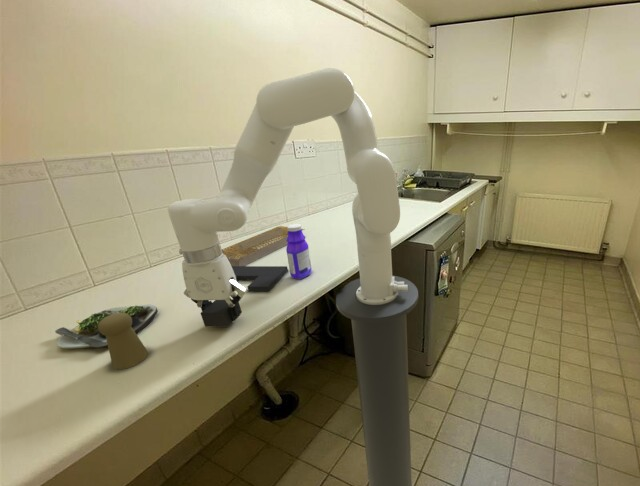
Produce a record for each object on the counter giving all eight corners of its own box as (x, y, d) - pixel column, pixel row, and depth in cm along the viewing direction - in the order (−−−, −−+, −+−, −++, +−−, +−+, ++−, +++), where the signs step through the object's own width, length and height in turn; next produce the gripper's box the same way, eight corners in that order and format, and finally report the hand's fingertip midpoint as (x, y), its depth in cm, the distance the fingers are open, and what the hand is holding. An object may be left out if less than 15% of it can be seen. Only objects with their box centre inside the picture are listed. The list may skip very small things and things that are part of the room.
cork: (151, 346, 72) (134, 305, 68) (145, 363, 67) (127, 320, 63) (117, 355, 69) (98, 313, 65) (108, 373, 64) (87, 329, 60)
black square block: (242, 312, 81) (238, 299, 80) (228, 326, 76) (224, 312, 74) (220, 312, 82) (215, 299, 80) (205, 326, 76) (200, 313, 75)
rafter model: (239, 269, 109) (235, 253, 107) (211, 263, 114) (206, 248, 112) (305, 236, 139) (303, 223, 137) (281, 233, 144) (278, 220, 142)
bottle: (301, 269, 108) (293, 221, 102) (315, 271, 106) (308, 223, 100) (287, 278, 102) (278, 228, 95) (302, 281, 100) (293, 230, 94)
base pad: (288, 270, 107) (287, 266, 107) (268, 291, 94) (267, 286, 94) (232, 270, 108) (231, 266, 108) (205, 291, 95) (204, 286, 95)
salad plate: (25, 359, 69) (14, 342, 67) (93, 313, 85) (86, 298, 84) (118, 352, 70) (111, 335, 69) (167, 308, 87) (162, 293, 85)
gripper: (154, 260, 69) (180, 327, 76) (229, 259, 68) (248, 327, 75) (179, 247, 76) (201, 309, 83) (247, 245, 75) (263, 309, 81)
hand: (223, 317), depth 78 cm, fingers closed on black square block, 6 cm apart
